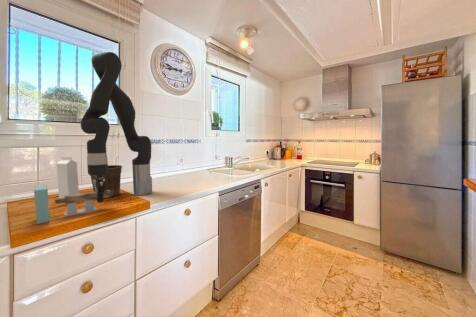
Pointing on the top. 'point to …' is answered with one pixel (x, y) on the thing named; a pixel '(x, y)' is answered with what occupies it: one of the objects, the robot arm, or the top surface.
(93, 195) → the needle
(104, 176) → the plant pot
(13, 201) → the top surface
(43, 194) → the teal rectangular frame
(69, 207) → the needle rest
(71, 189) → the milk
